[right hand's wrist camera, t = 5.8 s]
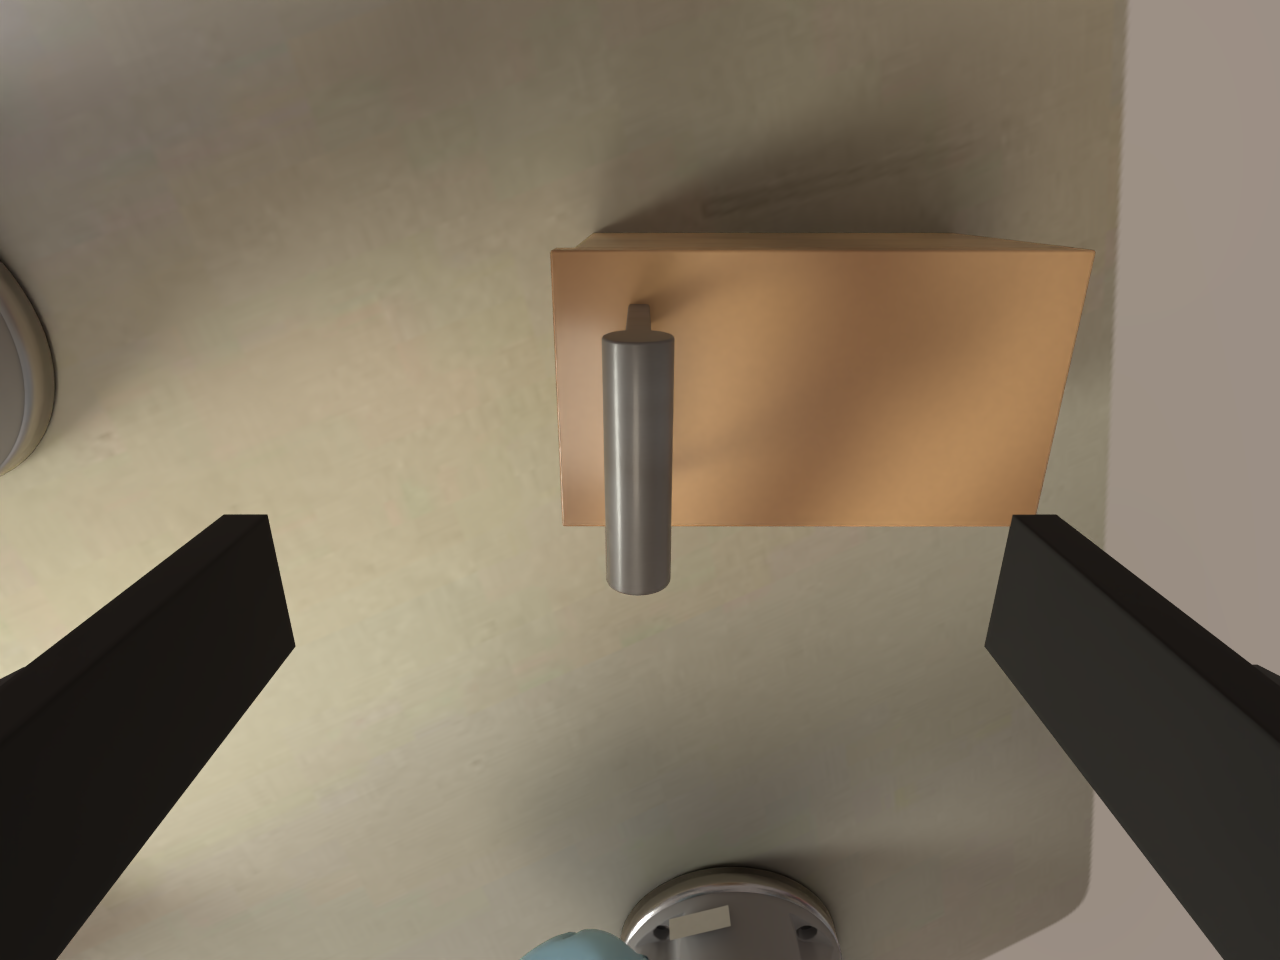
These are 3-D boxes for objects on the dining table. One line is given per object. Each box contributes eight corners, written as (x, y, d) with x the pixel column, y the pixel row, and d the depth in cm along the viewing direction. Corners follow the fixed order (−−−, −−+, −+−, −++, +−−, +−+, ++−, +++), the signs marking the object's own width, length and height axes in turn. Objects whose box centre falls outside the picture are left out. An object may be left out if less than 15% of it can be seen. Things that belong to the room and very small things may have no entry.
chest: (597, 432, 37) (582, 514, 27) (592, 232, 33) (573, 247, 24) (922, 432, 37) (1018, 514, 27) (953, 233, 33) (1076, 247, 24)
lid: (565, 514, 27) (534, 644, 19) (553, 247, 24) (509, 273, 16) (1019, 514, 27) (1174, 645, 19) (1077, 248, 24) (1296, 274, 16)
